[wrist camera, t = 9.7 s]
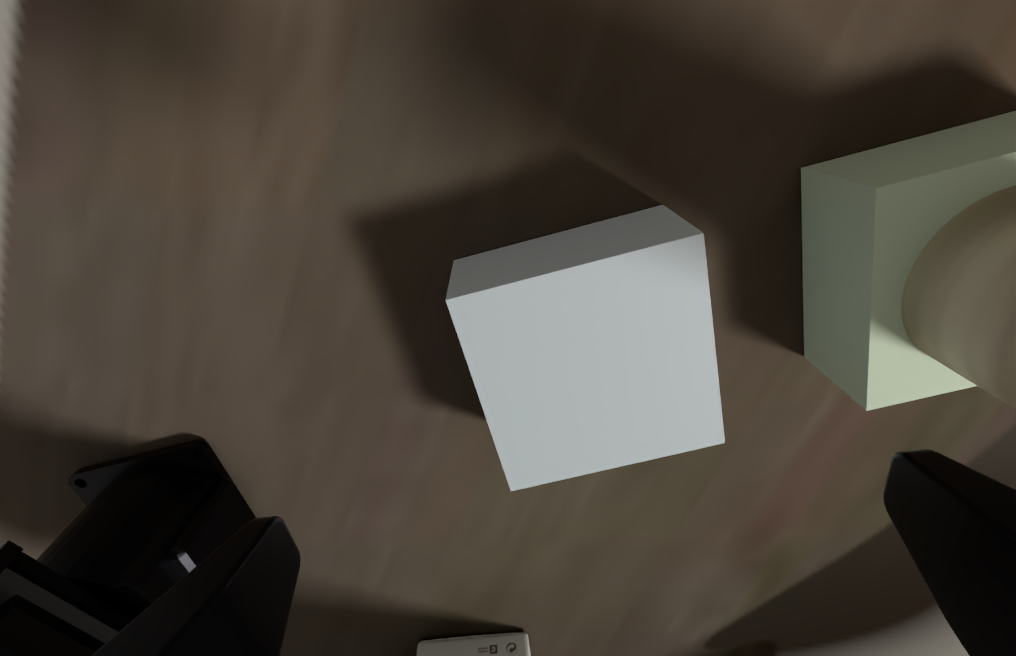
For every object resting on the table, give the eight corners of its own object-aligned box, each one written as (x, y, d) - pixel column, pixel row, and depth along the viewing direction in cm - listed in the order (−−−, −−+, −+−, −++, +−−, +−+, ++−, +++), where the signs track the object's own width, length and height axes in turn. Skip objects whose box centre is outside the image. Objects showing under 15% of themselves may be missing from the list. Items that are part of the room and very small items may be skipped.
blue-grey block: (507, 427, 23) (510, 491, 19) (453, 260, 20) (445, 300, 16) (686, 384, 22) (724, 442, 19) (662, 204, 19) (703, 233, 15)
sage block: (804, 356, 22) (866, 410, 18) (800, 167, 19) (876, 188, 15) (1001, 310, 21) (1105, 356, 18) (1034, 105, 18) (1173, 110, 14)
